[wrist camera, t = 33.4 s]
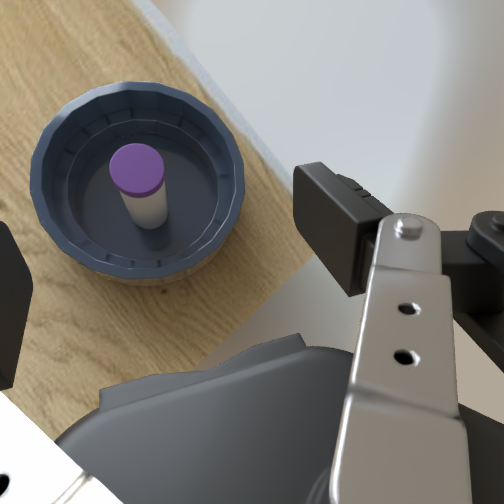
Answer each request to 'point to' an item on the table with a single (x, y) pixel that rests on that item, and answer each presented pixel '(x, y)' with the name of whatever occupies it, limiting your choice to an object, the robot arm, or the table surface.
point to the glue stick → (141, 184)
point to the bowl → (108, 196)
